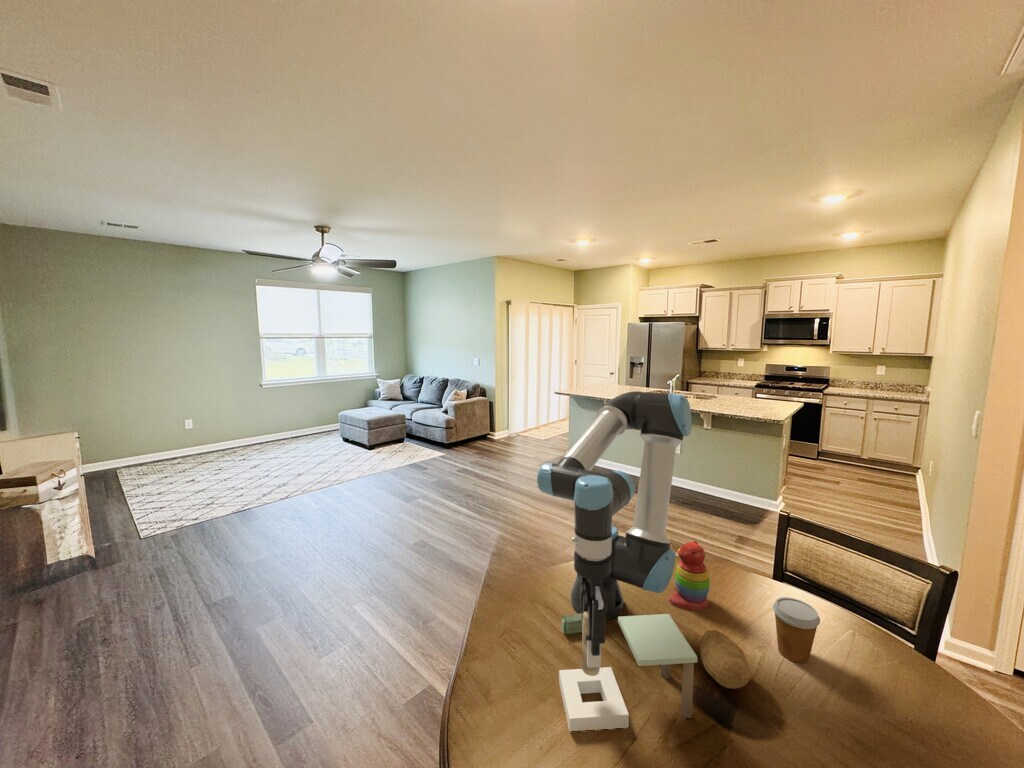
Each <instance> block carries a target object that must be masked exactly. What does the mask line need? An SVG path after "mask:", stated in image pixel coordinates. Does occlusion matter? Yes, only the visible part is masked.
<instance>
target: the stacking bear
mask: <svg viewBox="0 0 1024 768" xmlns="http://www.w3.org/2000/svg"><path fill="white" fill-rule="evenodd" d="M676 551H677V555H678V557H679V561H678V564H677V567H676V570H675V575H674V578H675V580H674V581H675V587H674V591H675V592H674V593H672V594H671V595H670V596H669V600H668V601H669V603H670V605H673V606H675V607H677V608H679V609H684V610H689V611H702V610H703V611H704V610H706V609H707V607H708V606H709V600H708V594H709V592H710V585H711V581H710V577H709V571H708V568H707V566H706V565H705V563H704V561H705V557H706V552H705V550H704V548H703V547H702V546H701V545H700V544H699V543H698V542H697V540H695V539H694V540H693V542H692V541H690V542H689V541H688V542H686V543H684V544H683V545H682V546H681V547H679V548H678V549H677V550H676Z"/></svg>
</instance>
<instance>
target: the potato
mask: <svg viewBox="0 0 1024 768" xmlns="http://www.w3.org/2000/svg"><path fill="white" fill-rule="evenodd" d="M699 644H700V645H699V646H700V647H699V654H700V659H701V662H702V665H703V667H704V669H705V671H706V672H707V673H708V675H710V677H712V678H713V680H714V681H715V682H717V683H718V684H719V685H720V686H722V687H724V688H726V689H733V690H734V689H739V688H744V686H746V685H747V684H749V681H750V679H751V674H752V673H751V668H750V665H749V663H748V661H747V658H746V656H745V653H744V651H743V650H742V649H741V648H740V646H739V645H738V644H737V643H735V642H734V641H733V640H731V638H729V637H728V636H727V635H726V634H724V633H723V632H720V631H718V630H716V629H715V630H713V629H712V630H706V631H705V632H704V633H703V634H702V637H701V639H700V643H699Z"/></svg>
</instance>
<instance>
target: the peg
mask: <svg viewBox="0 0 1024 768" xmlns="http://www.w3.org/2000/svg"><path fill="white" fill-rule="evenodd" d="M585 636H589V620H588V611H585V612H584V613H583V647H581V648H582V651H581V652H582V653H581V654H582V658H581V659H582V660H581V663H582V664H581V667H582V668H581V669H582V670H583V672H584V673H585V674H587V675H589V676H595V675H597V674H598V673H599V669H600V668H601V667H594V668H588V666H587V641H586V637H585Z"/></svg>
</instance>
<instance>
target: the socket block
mask: <svg viewBox="0 0 1024 768" xmlns="http://www.w3.org/2000/svg"><path fill="white" fill-rule="evenodd" d="M558 683H559V688H560V693H561V697H562V698H561V699H562V702H563V707H564V712H566V713H565V716H566V717H567V718H566V717H565V718H566V721H567V726H568V727H567V728H568V731H570V732H569V733H572V732H571V731H578V730H579V731H580V730H586V729H587V730H588V729H609V730H616V729H615V728H623V729H629V728H628V727H630V726H629V722H630V719H629V718H630V714H629V711H628V709H627V705H626V703H625V700H624V698H623V696H622V692H621V691H620V688H619V685H618V683H617V680H616V677H615V675H614V672H613V669H612V667H611V666H606V667H604V666H603V667H602V666H601V667H600V669H599V673H598V674H597V675H595V676H589V675H587V674H585V673H584V672H583V670H582V668H575V669H574V668H573V669H560V670H558ZM599 693H600V696H601V699H602V700H601V701H584V702H583V699H582V694H599ZM613 728H614V729H613Z"/></svg>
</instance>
